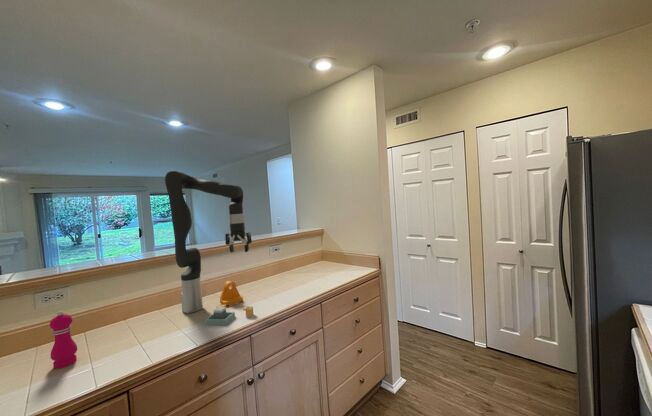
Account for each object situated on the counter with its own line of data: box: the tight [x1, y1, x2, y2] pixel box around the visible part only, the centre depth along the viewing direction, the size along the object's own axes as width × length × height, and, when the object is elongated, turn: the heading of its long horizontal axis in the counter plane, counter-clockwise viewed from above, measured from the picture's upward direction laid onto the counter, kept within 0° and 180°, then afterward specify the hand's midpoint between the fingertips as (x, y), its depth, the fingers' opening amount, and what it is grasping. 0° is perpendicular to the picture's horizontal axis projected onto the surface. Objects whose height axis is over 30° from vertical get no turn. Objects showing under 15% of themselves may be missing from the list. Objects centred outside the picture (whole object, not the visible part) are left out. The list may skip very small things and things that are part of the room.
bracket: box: [219, 280, 244, 307], centre depth 152 cm, size 11×7×12 cm, turn 129°
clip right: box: [243, 306, 254, 318], centre depth 133 cm, size 4×3×4 cm
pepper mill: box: [49, 310, 78, 369], centre depth 100 cm, size 7×7×20 cm
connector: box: [213, 306, 227, 319], centre depth 129 cm, size 4×4×6 cm
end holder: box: [205, 311, 236, 326], centre depth 129 cm, size 10×8×2 cm
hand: (239, 251), depth 146 cm, fingers open, 8 cm apart
